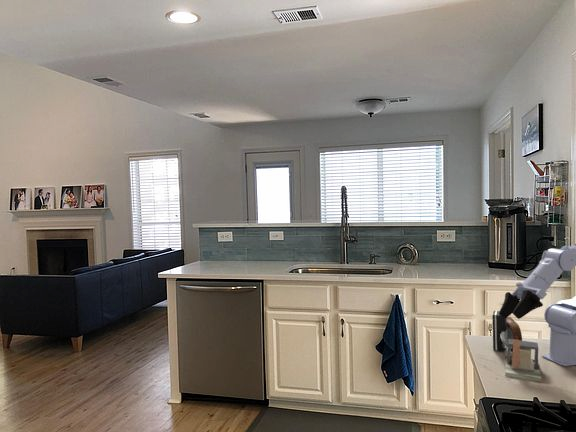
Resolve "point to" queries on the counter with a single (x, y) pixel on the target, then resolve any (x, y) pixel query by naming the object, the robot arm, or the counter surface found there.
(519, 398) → the counter surface
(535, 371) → the track board
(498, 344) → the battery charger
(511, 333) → the tin
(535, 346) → the grey box
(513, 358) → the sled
